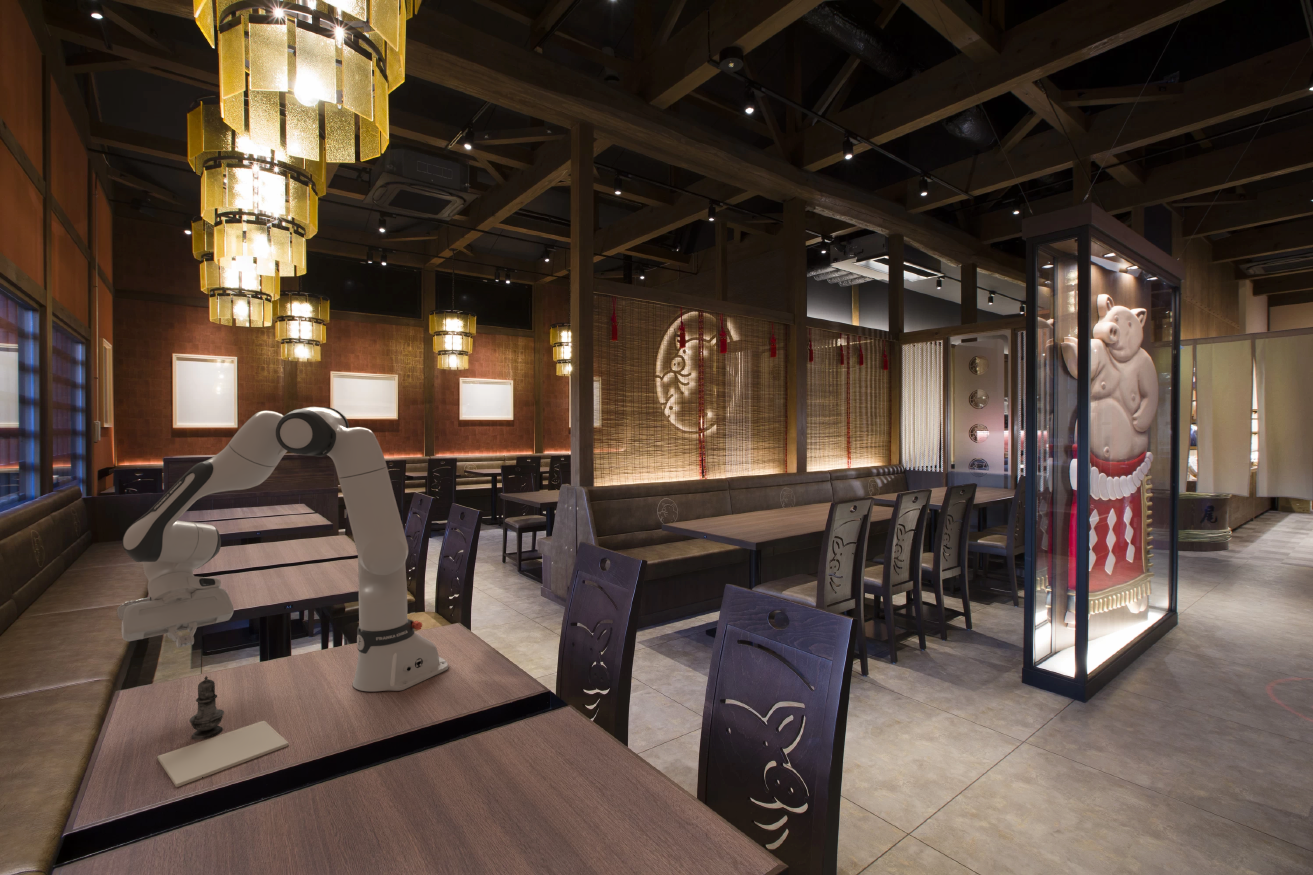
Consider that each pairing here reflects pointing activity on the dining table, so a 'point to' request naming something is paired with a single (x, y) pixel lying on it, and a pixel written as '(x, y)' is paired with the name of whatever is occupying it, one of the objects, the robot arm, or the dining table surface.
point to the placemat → (220, 752)
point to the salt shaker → (206, 712)
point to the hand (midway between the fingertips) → (185, 644)
